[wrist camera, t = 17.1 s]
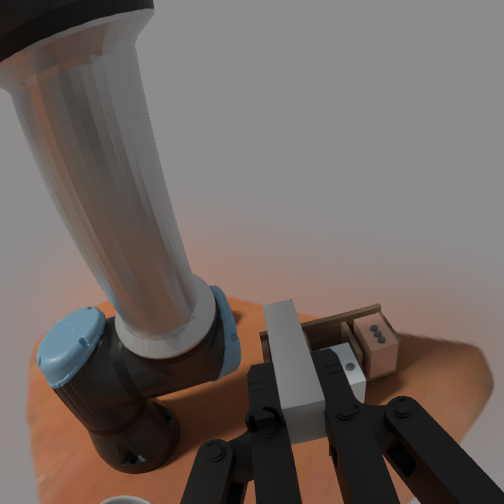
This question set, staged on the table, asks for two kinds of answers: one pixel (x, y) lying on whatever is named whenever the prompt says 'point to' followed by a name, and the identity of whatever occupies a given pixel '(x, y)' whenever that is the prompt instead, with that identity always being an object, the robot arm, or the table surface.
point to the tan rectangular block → (376, 344)
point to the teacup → (126, 500)
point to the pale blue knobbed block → (351, 370)
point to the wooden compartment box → (336, 335)
